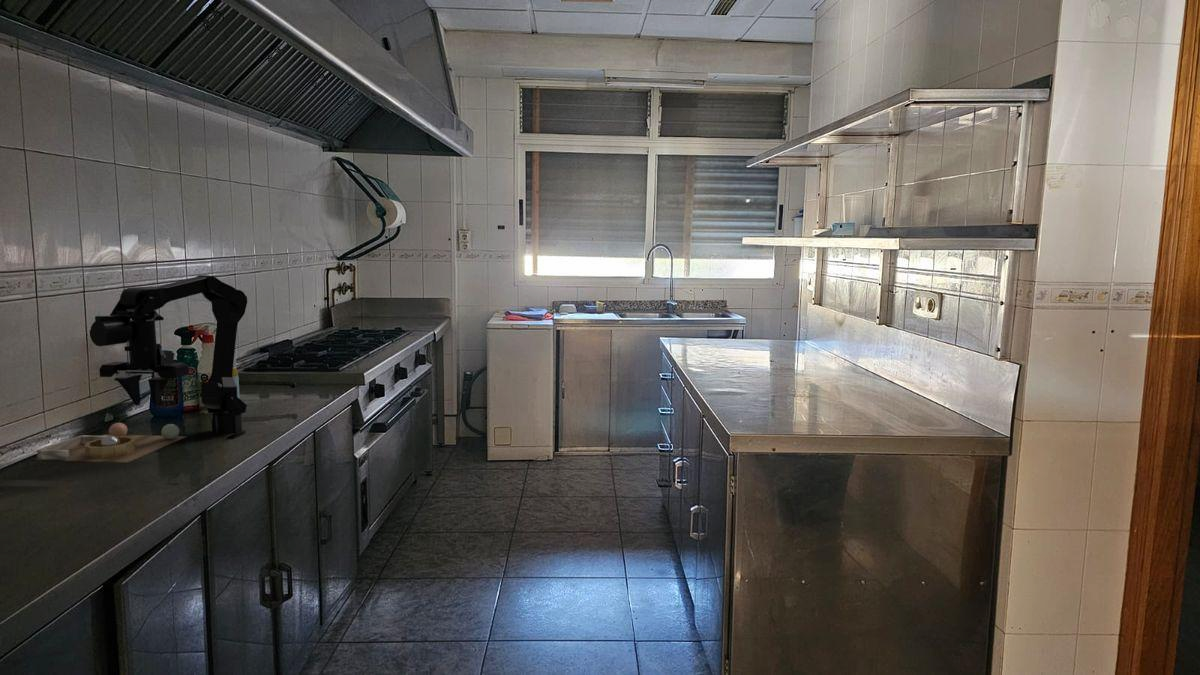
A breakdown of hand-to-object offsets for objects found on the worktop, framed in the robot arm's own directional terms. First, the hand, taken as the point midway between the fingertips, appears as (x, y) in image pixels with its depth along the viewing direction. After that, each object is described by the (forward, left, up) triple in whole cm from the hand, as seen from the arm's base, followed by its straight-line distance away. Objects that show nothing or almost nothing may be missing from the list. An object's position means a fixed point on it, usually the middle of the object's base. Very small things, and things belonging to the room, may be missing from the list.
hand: (147, 405), depth 175 cm
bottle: (+13, -55, -13) cm, 58 cm away
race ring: (+10, 0, -12) cm, 15 cm away
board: (+12, -4, -13) cm, 18 cm away
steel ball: (+10, 0, -10) cm, 14 cm away
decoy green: (+3, -12, -10) cm, 16 cm away
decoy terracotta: (+17, -12, -10) cm, 23 cm away
